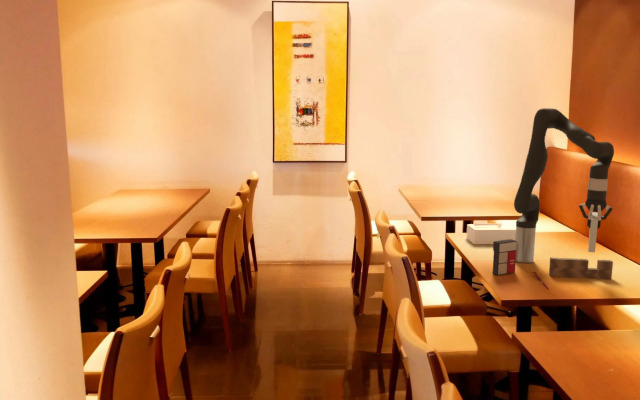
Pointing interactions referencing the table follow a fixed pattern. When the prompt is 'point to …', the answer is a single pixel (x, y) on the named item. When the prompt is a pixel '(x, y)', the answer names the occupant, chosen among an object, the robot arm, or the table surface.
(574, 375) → the table surface
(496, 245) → the grey red box
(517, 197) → the robot arm
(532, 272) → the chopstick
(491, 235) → the tissue box
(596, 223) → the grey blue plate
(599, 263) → the walnut board
